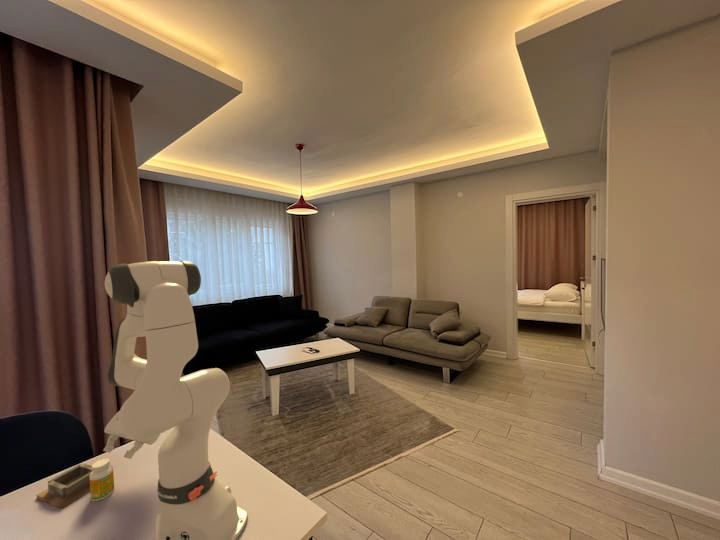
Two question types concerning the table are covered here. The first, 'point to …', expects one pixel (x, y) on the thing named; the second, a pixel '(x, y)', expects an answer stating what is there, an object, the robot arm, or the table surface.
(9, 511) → the table surface
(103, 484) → the supplement bottle
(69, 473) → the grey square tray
